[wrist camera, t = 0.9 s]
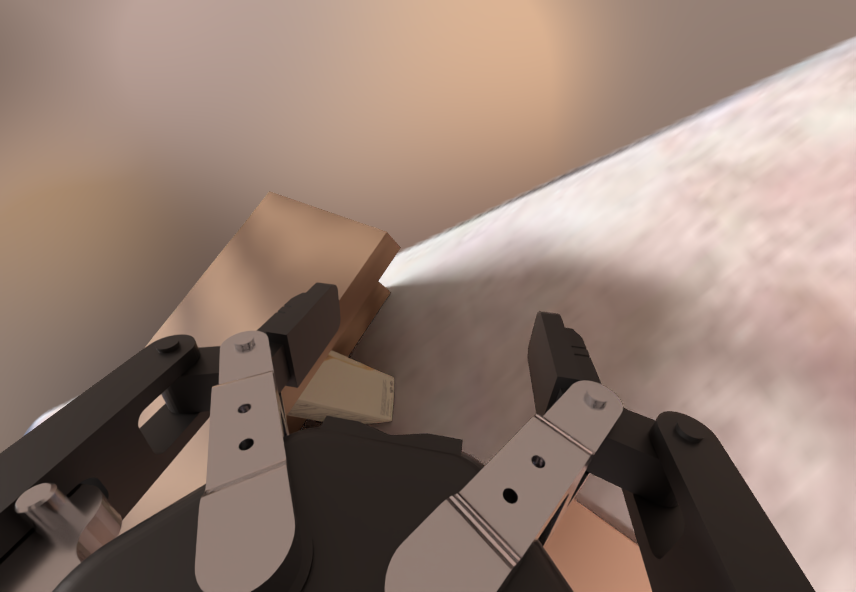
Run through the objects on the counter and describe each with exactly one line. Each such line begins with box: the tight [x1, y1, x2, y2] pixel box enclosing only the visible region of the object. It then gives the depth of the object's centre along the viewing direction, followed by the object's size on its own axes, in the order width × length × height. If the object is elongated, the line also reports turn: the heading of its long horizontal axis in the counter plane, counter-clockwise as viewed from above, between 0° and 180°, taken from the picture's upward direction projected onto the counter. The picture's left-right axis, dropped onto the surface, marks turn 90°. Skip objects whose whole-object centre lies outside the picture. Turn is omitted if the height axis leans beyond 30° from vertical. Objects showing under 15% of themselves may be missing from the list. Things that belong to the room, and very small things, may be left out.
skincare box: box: [288, 350, 394, 424], centre depth 27 cm, size 6×4×12 cm
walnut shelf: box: [118, 192, 400, 536], centre depth 26 cm, size 22×14×16 cm, turn 144°
